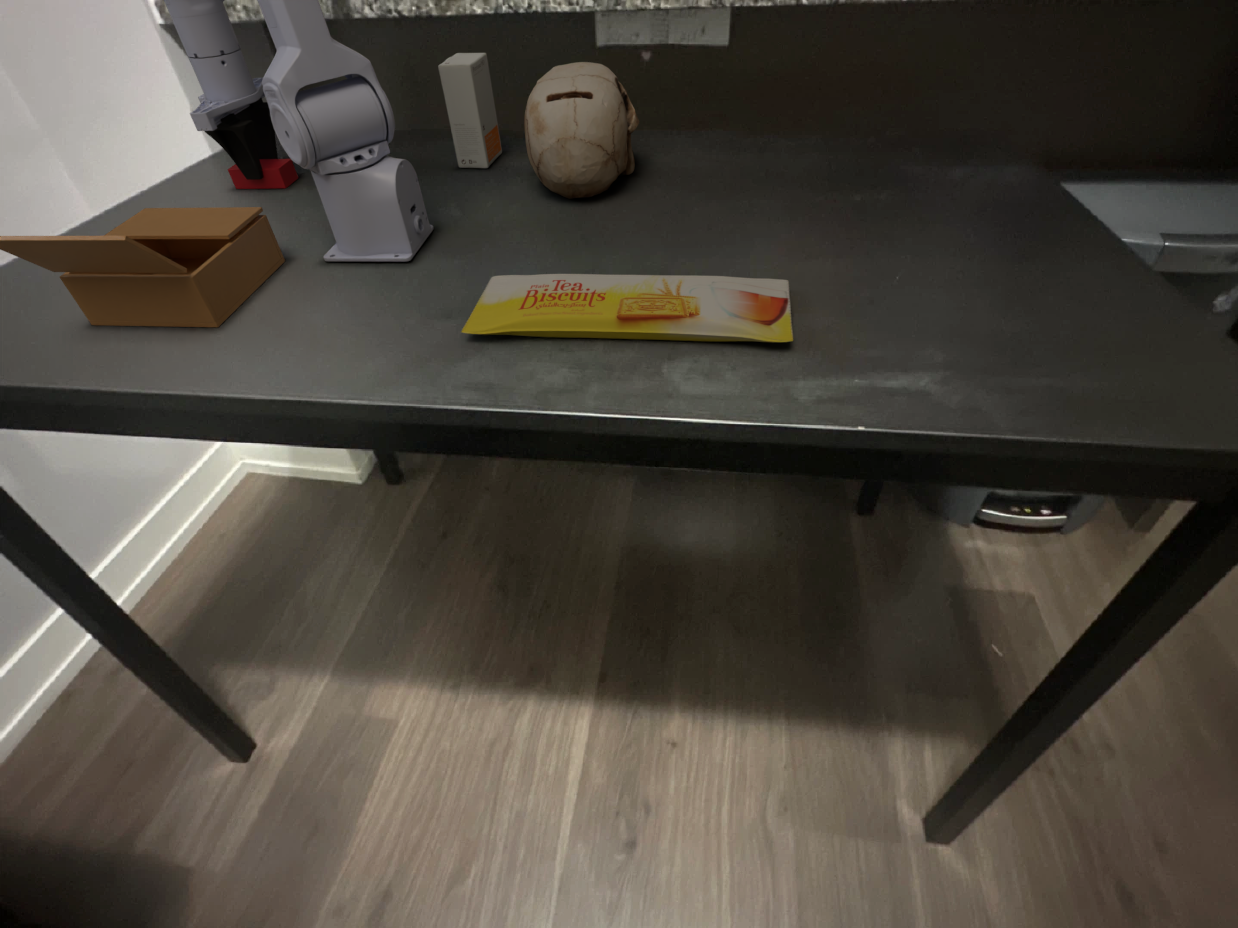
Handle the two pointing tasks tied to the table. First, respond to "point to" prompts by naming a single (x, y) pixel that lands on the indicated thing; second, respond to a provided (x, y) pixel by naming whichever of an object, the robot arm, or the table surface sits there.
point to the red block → (267, 175)
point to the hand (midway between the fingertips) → (263, 172)
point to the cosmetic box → (471, 109)
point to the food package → (635, 307)
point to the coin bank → (579, 129)
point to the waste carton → (196, 239)
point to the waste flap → (89, 254)
